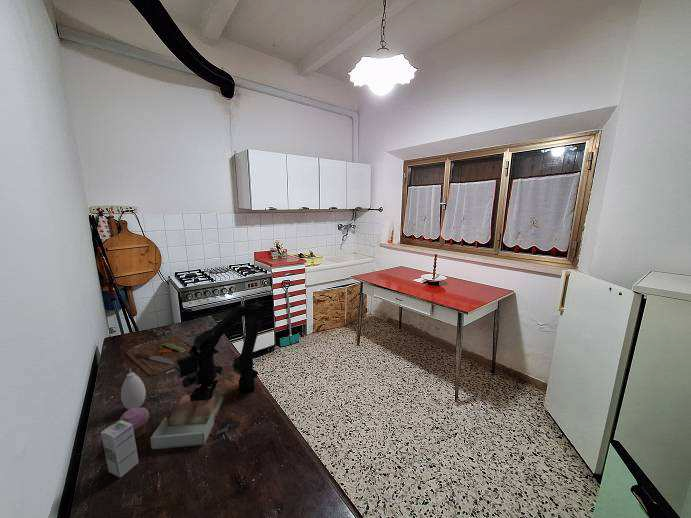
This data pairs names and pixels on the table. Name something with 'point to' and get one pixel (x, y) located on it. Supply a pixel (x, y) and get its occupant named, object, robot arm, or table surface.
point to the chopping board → (159, 355)
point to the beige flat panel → (194, 414)
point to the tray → (181, 434)
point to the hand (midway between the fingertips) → (209, 401)
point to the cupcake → (137, 420)
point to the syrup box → (119, 448)
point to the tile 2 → (205, 406)
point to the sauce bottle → (133, 391)
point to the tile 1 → (186, 403)
